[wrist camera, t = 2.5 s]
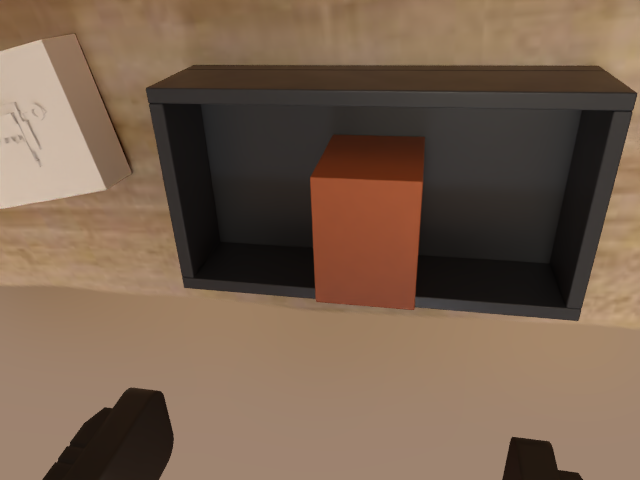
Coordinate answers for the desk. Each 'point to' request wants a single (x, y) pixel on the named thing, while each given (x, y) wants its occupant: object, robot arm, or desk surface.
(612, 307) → the desk surface
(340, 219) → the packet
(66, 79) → the box
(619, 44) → the desk surface
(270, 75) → the bin
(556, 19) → the desk surface
